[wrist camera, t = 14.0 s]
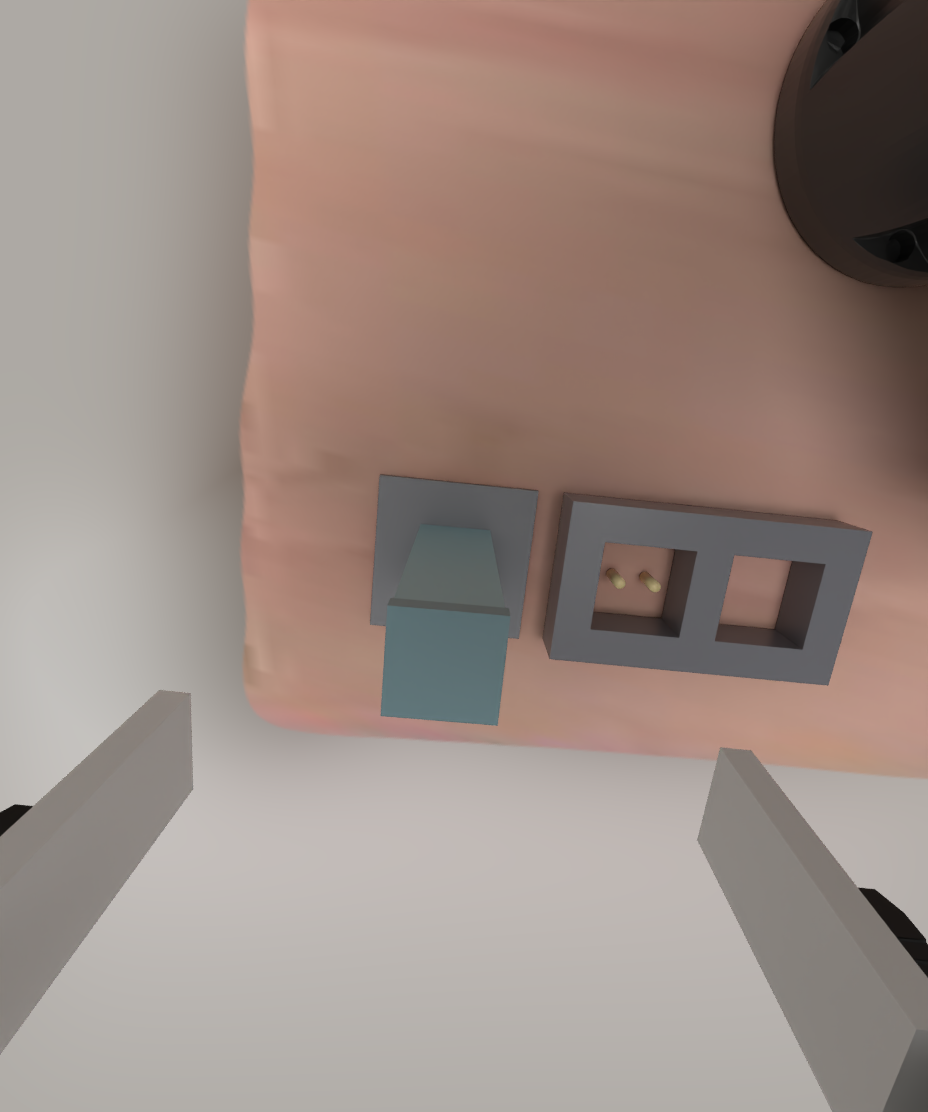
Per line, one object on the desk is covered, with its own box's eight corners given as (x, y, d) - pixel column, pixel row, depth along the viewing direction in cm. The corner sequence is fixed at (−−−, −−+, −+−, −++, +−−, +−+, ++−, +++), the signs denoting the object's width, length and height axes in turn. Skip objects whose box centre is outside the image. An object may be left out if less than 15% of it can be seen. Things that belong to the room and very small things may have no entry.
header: (542, 638, 36) (549, 659, 33) (563, 492, 33) (573, 501, 30) (798, 662, 36) (828, 685, 33) (837, 520, 34) (872, 531, 31)
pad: (371, 622, 35) (370, 624, 35) (380, 474, 33) (379, 475, 33) (518, 636, 36) (518, 638, 35) (537, 490, 33) (538, 491, 33)
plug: (414, 591, 34) (380, 715, 21) (419, 522, 33) (387, 605, 20) (484, 597, 34) (497, 725, 21) (492, 528, 33) (510, 616, 20)
